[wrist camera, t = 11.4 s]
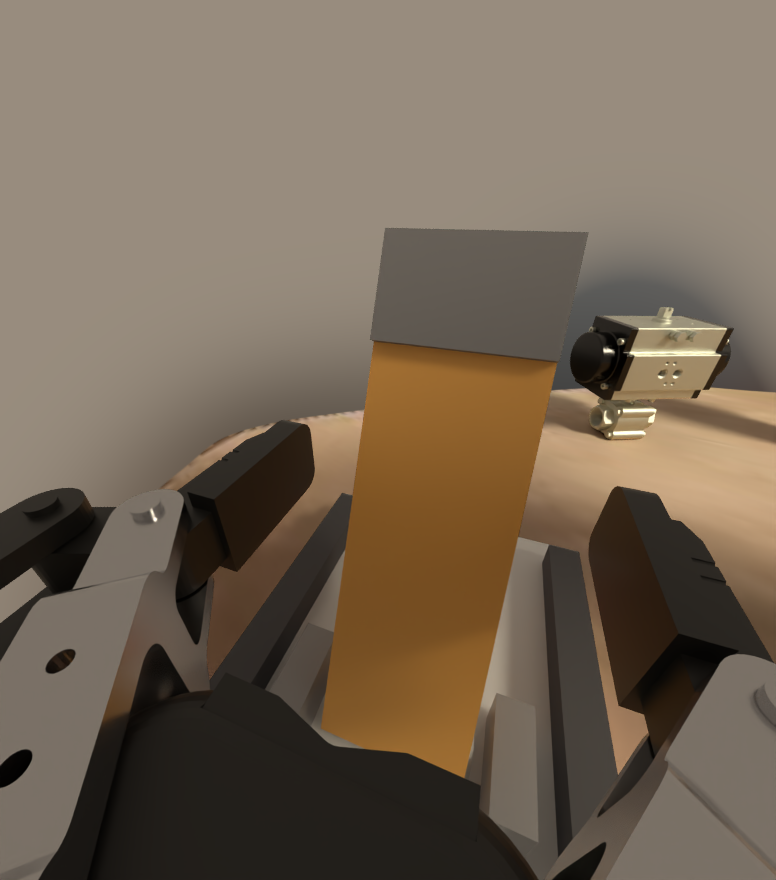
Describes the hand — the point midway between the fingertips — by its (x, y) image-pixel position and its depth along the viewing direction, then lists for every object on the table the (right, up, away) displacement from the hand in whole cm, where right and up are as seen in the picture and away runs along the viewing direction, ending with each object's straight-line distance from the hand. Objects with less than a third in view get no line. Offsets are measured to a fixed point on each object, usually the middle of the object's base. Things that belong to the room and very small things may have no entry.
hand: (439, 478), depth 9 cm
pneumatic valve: (+22, +1, +25) cm, 33 cm away
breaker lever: (-1, -8, +2) cm, 9 cm away
